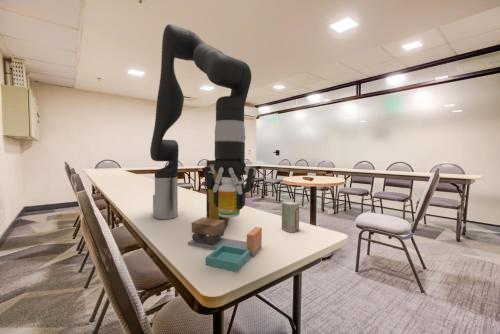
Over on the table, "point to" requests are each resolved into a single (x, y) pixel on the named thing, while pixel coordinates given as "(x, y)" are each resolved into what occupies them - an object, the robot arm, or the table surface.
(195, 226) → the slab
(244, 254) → the cradle
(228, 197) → the supplement bottle
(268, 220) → the table surface
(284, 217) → the skincare box
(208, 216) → the book
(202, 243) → the rail
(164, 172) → the robot arm
